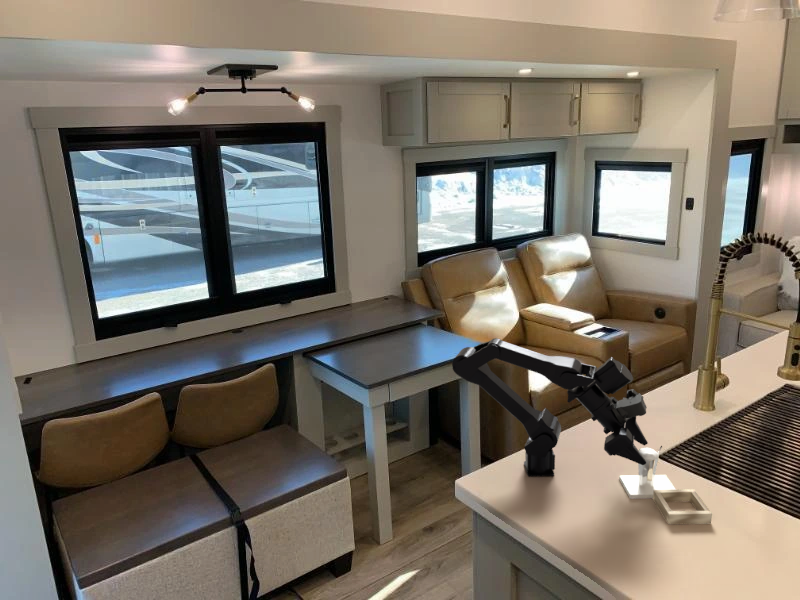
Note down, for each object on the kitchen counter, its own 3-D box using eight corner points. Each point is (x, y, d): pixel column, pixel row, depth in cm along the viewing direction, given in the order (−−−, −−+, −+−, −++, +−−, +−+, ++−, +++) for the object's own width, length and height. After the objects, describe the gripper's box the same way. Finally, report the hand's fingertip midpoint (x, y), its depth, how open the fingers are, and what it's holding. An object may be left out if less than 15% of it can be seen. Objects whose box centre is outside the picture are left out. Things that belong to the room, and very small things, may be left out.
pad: (630, 498, 140) (630, 494, 140) (619, 479, 148) (619, 475, 147) (678, 497, 139) (679, 493, 139) (665, 478, 147) (665, 474, 147)
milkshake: (663, 489, 141) (666, 451, 138) (639, 490, 141) (642, 452, 138) (655, 478, 145) (657, 441, 143) (632, 479, 146) (635, 442, 143)
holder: (668, 524, 131) (669, 514, 130) (652, 499, 139) (653, 490, 139) (710, 523, 130) (712, 513, 130) (692, 498, 139) (693, 489, 138)
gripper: (623, 401, 131) (674, 456, 130) (628, 369, 147) (674, 417, 146) (583, 429, 136) (632, 481, 135) (592, 395, 152) (636, 441, 151)
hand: (645, 453), depth 142 cm, fingers open, 9 cm apart
